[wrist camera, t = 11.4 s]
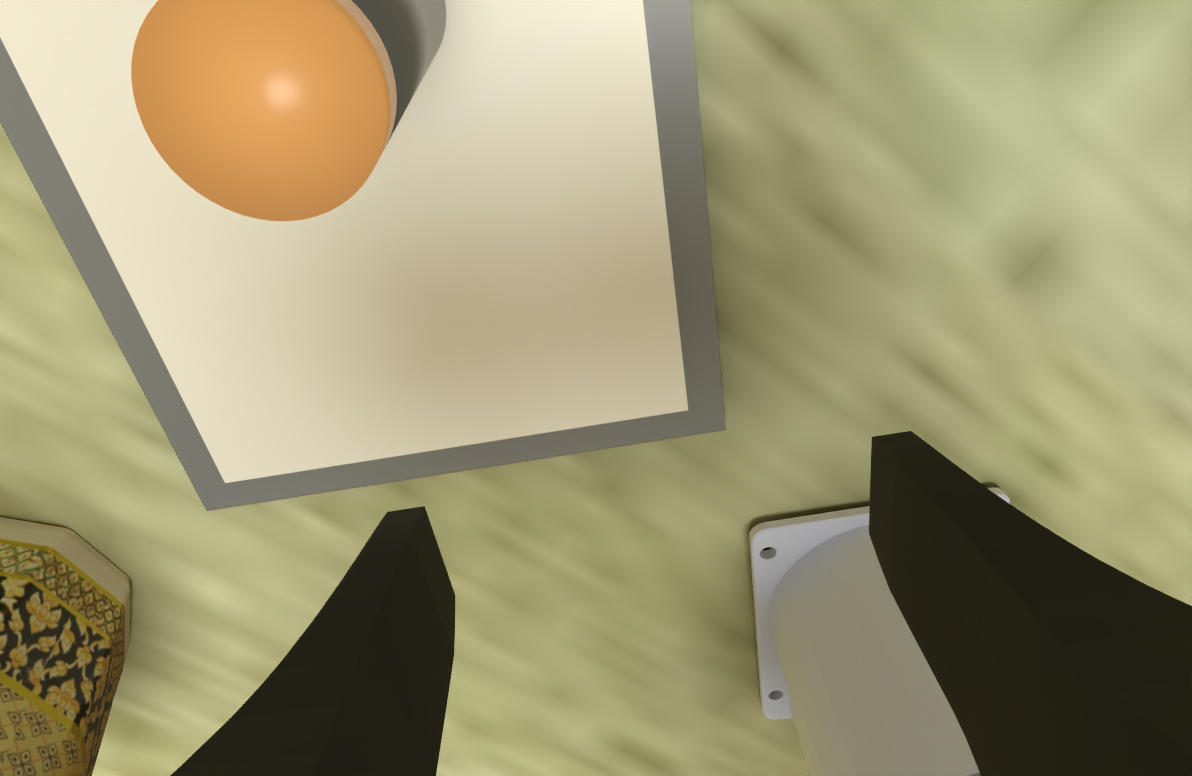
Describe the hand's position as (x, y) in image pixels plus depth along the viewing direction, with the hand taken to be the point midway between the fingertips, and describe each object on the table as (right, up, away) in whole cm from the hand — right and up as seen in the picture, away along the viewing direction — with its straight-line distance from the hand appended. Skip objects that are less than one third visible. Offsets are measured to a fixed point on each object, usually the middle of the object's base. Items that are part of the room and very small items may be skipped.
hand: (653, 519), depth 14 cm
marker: (-6, +10, +4) cm, 12 cm away
